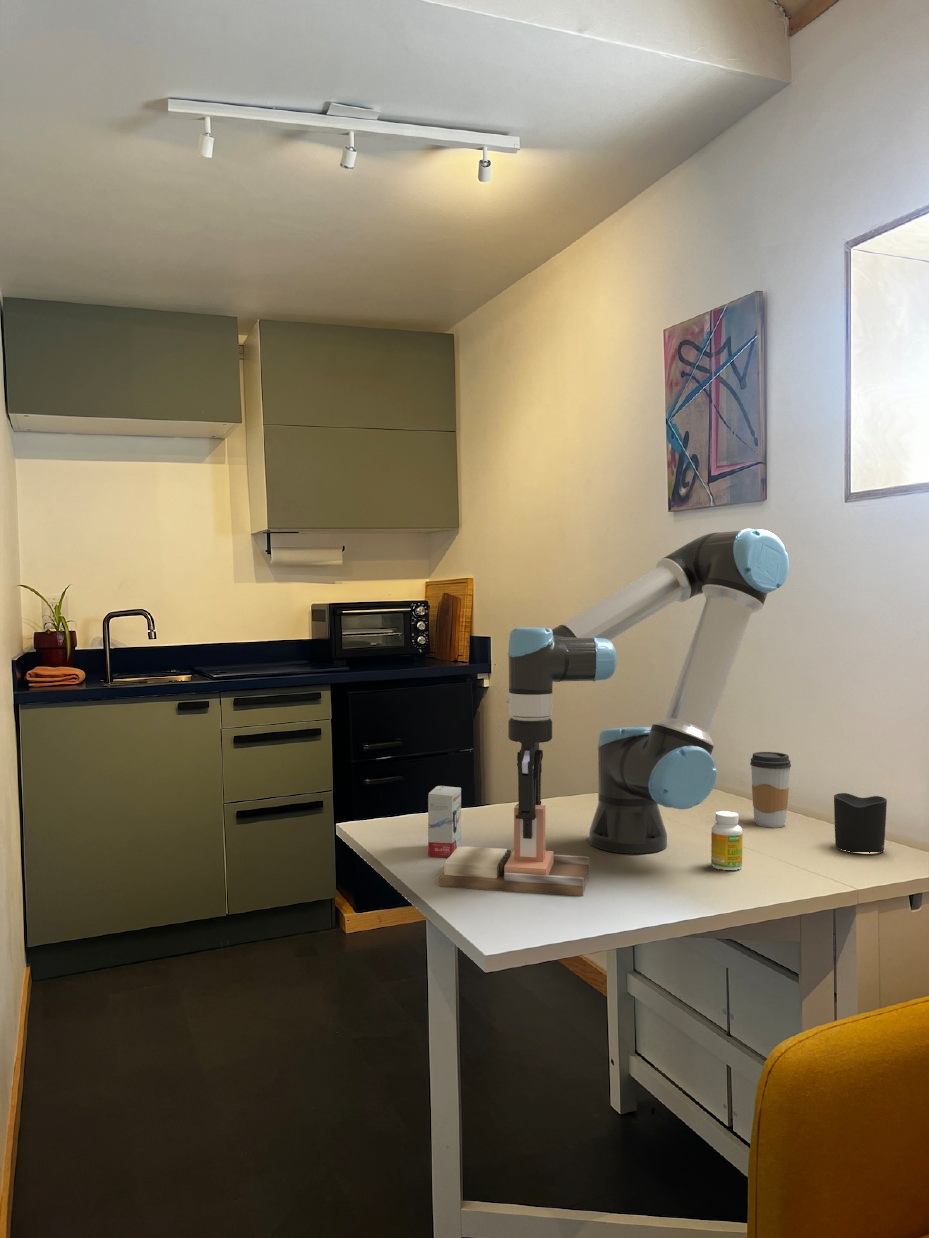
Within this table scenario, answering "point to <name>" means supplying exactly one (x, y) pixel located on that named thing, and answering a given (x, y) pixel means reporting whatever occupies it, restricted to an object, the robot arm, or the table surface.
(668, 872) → the table surface
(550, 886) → the board
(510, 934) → the table surface
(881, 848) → the pen holder
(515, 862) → the stub
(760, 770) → the coffee cup
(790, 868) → the table surface
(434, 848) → the ink box
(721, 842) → the supplement bottle
